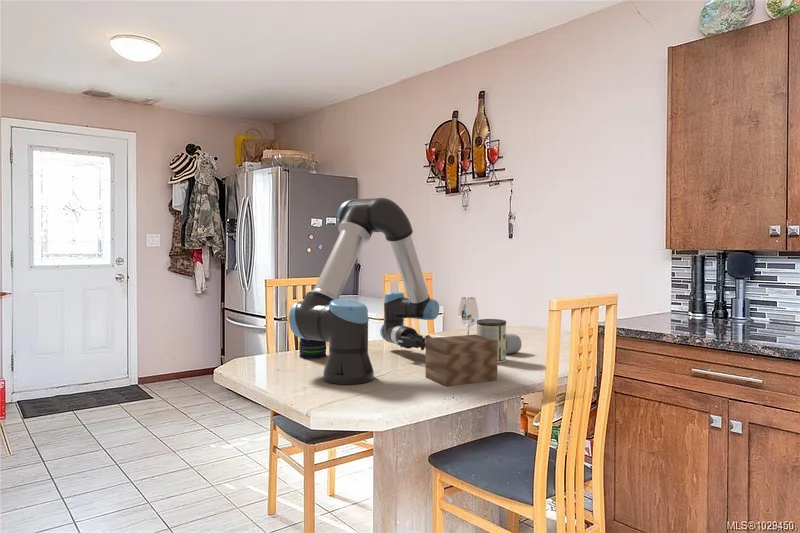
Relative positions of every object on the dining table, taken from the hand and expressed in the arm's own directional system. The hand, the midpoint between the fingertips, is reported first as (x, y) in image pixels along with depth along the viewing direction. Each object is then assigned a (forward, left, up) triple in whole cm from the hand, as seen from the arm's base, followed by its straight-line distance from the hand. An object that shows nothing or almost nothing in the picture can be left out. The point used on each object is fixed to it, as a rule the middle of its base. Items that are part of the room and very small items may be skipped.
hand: (436, 347), depth 182 cm
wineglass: (+29, +26, -7) cm, 40 cm away
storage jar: (-31, +36, -7) cm, 48 cm away
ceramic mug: (+37, +13, -7) cm, 40 cm away
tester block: (0, -16, -7) cm, 17 cm away
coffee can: (+24, +3, -7) cm, 25 cm away
